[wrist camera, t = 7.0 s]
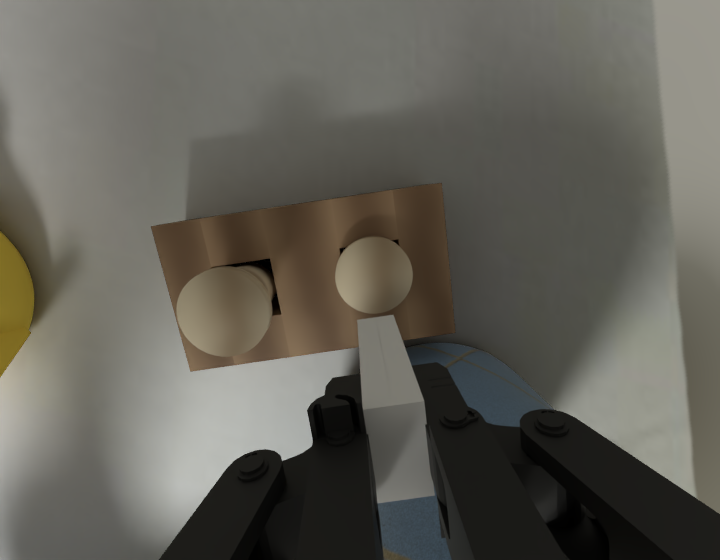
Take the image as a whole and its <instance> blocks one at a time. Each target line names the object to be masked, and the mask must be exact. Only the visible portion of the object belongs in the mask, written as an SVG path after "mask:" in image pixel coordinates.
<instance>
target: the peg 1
mask: <svg viewBox="0 0 720 560" xmlns="http://www.w3.org/2000/svg"><path fill="white" fill-rule="evenodd" d="M275 293H276V285H275V280H274V277H273V275H272V274H271V272H270V271H269V270H268V269H267V268H265V267H264V266H262V265H260V264H257V263H244V264H241V265H239V266H237V267H231V266H220V267H215V268H211V269H208V270H206V271H204V272H203V273H201V274H199V275H197V276H195V277H194V278H192V279H191V280H190V281H189V282H188V283H187V284H186V285H185V286H184V288H183V289H182V291H181V293H180V295H179V297H178V301H177V308H176V312H177V319H178V323H179V326H180V328H181V330H182V332H183V334H184V335H185V337H186V338H187V339H188V340H189V341H190V342H191V343H192V344H193V345H194V346H196V347H197V348H198V349H200V350H202V351H204V352H206V353H208V354H211V355H215V356H221V357H230V356H237V355H240V354H243V353H245V352H247V351H249V350H251V349H252V348H254V347H255V346H256V345H257V344H258V343H259V342H260V341H261V339H262V338H263V336H264V334H265V333H266V331H267V329H268V327H269V325H270V323H271V319H272V302H271V301H272V300H273V298H274V296H275Z"/></svg>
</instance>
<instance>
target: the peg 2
mask: <svg viewBox="0 0 720 560" xmlns="http://www.w3.org/2000/svg"><path fill="white" fill-rule="evenodd" d="M412 280H413V271H412V266H411V263H410V260H409V258H408V256H407V255H406V253H405V252H404V251H403V250H402V249H401V247H400V246H398V245H397V244H396V243H395V242H393V241H391V240H389V239H387V238H384V237H380V236H367V237H363V238H360V239H358V240H356V241H354V242H352V243H351V244H349V245H348V246H347V247H346V248H345V249H344V251H343V252H342V254H341V255H340V257H339V259H338V262H337V266H336V272H335V281H336V286H337V289H338V292H339V294H340V295H341V297H342V298H343V300H344V301H345V302H346V303H347V304H348V305H350V306H351V307H352V308H354V309H356V310H358V311H361V312H364V313H369V314H377V313H383V312H386V311H389V310H391V309H393V308H395V307H396V306H398V305H399V304H400V303H401V302H402V301H403V300H404V299H405V297H406V296H407V294H408V293H409V291H410V288H411V285H412Z"/></svg>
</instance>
